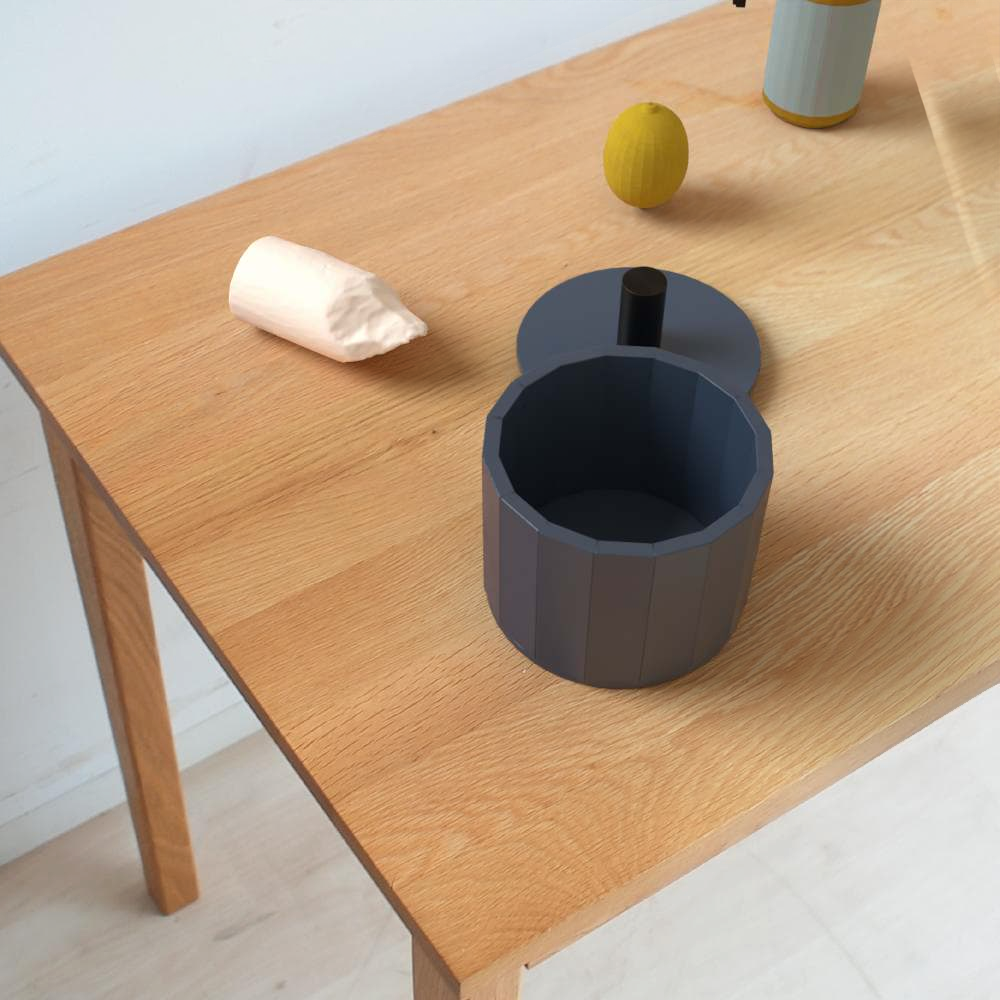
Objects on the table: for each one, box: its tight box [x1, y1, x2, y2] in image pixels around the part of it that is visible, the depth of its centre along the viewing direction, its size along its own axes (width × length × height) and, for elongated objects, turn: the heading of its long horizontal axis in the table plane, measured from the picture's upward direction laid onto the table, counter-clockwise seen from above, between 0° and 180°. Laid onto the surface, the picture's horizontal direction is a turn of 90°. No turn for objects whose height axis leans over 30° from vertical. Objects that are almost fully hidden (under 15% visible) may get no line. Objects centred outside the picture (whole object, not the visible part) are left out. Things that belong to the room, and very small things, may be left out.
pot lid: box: [515, 265, 762, 396], centre depth 85 cm, size 15×15×6 cm
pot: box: [481, 345, 775, 690], centre depth 72 cm, size 14×14×10 cm
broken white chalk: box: [228, 235, 429, 363], centre depth 86 cm, size 6×12×6 cm, turn 59°
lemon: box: [602, 101, 690, 210], centre depth 94 cm, size 6×6×8 cm
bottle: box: [761, 0, 883, 129], centre depth 99 cm, size 7×7×15 cm
